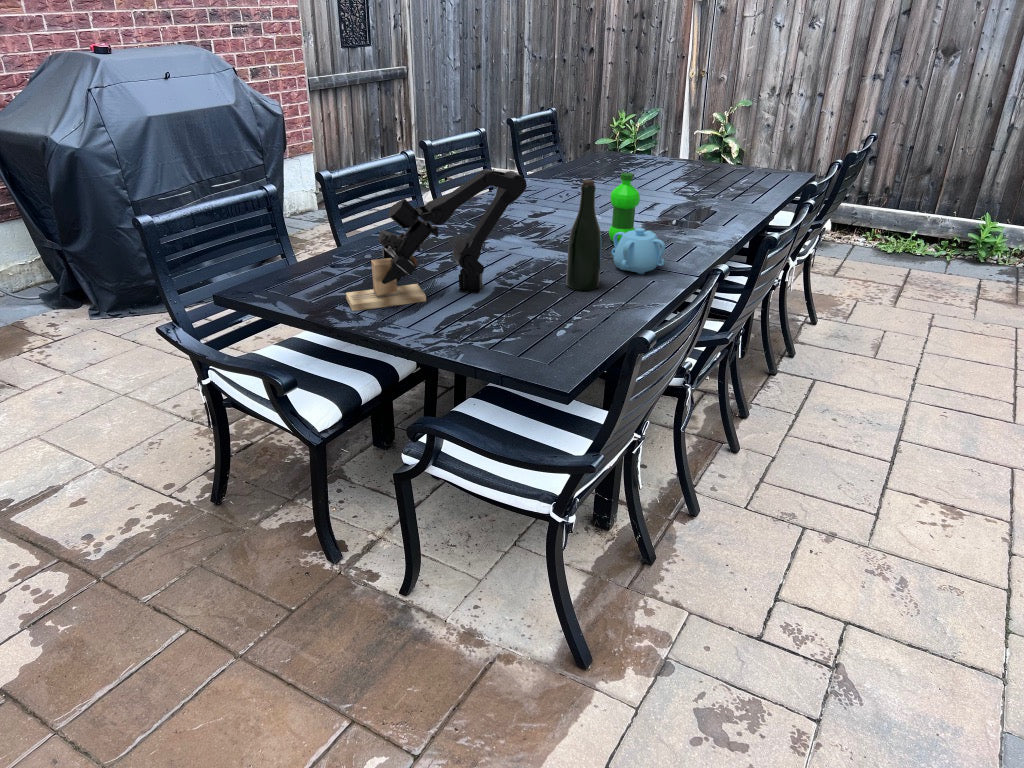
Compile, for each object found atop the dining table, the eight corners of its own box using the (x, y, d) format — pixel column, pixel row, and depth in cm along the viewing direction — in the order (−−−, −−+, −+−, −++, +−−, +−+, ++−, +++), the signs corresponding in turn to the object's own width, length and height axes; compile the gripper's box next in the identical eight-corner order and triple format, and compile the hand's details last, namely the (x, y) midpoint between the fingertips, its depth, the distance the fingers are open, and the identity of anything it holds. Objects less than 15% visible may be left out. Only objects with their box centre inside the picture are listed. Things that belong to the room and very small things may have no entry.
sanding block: (393, 289, 224) (391, 257, 219) (397, 295, 220) (395, 263, 215) (373, 292, 222) (371, 260, 217) (377, 298, 218) (374, 265, 213)
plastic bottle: (632, 248, 268) (639, 178, 256) (604, 245, 270) (609, 176, 259) (637, 240, 276) (644, 172, 264) (610, 237, 279) (615, 170, 267)
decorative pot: (608, 260, 256) (611, 221, 250) (654, 260, 257) (658, 221, 250) (616, 277, 242) (619, 236, 235) (665, 276, 243) (669, 236, 236)
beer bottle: (603, 290, 231) (610, 184, 215) (570, 292, 229) (575, 185, 213) (594, 279, 240) (601, 175, 224) (562, 280, 238) (567, 176, 222)
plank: (417, 289, 230) (417, 283, 229) (426, 301, 222) (425, 294, 221) (346, 298, 223) (345, 292, 222) (352, 311, 214) (351, 304, 214)
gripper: (386, 212, 220) (352, 252, 221) (401, 229, 204) (365, 272, 206) (413, 235, 226) (380, 274, 228) (430, 254, 211) (394, 295, 212)
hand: (379, 278), depth 218 cm, fingers open, 8 cm apart
